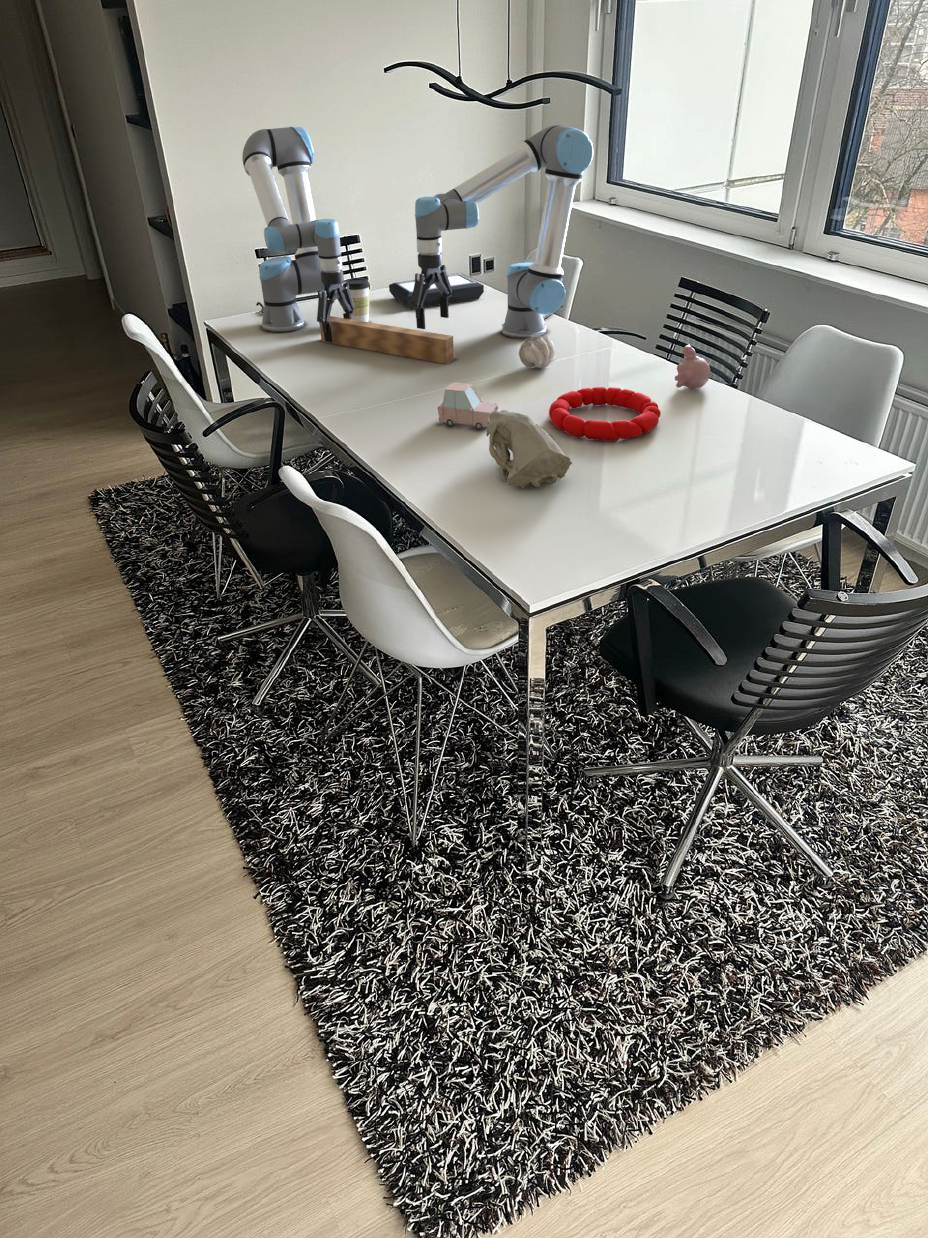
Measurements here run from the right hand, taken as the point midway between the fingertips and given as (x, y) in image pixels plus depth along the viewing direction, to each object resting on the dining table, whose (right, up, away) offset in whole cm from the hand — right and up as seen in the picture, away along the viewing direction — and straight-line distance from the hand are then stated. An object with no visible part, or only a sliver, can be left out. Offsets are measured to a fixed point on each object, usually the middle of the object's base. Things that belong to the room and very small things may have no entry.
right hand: (433, 322), depth 285 cm
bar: (-17, -4, +16) cm, 23 cm away
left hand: (-33, +3, +23) cm, 41 cm away
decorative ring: (+48, -41, -41) cm, 76 cm away
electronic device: (-1, +31, +66) cm, 73 cm away
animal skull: (+24, -58, -65) cm, 90 cm away
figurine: (+77, -27, -22) cm, 84 cm away
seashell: (+33, -15, -3) cm, 37 cm away
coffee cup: (-28, +14, +42) cm, 52 cm away
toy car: (+11, -41, -39) cm, 58 cm away
